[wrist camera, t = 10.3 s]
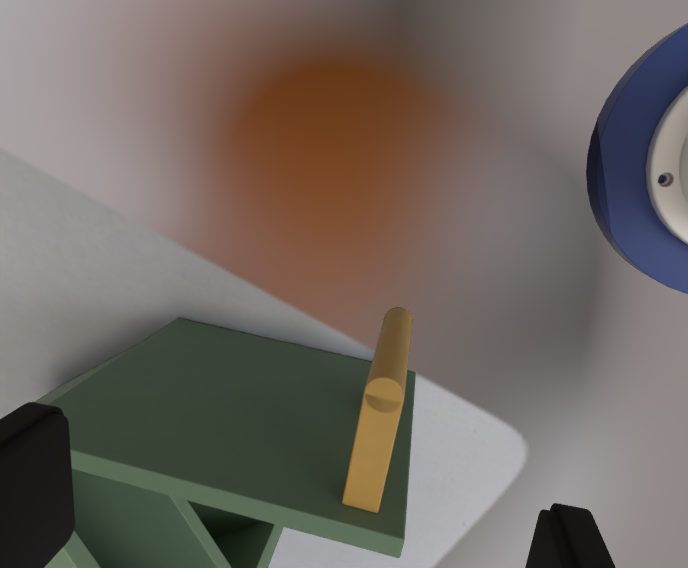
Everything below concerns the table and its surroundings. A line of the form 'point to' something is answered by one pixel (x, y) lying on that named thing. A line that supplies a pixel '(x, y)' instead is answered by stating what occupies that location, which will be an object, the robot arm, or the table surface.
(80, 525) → the cupboard
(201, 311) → the table surface
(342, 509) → the cupboard door
